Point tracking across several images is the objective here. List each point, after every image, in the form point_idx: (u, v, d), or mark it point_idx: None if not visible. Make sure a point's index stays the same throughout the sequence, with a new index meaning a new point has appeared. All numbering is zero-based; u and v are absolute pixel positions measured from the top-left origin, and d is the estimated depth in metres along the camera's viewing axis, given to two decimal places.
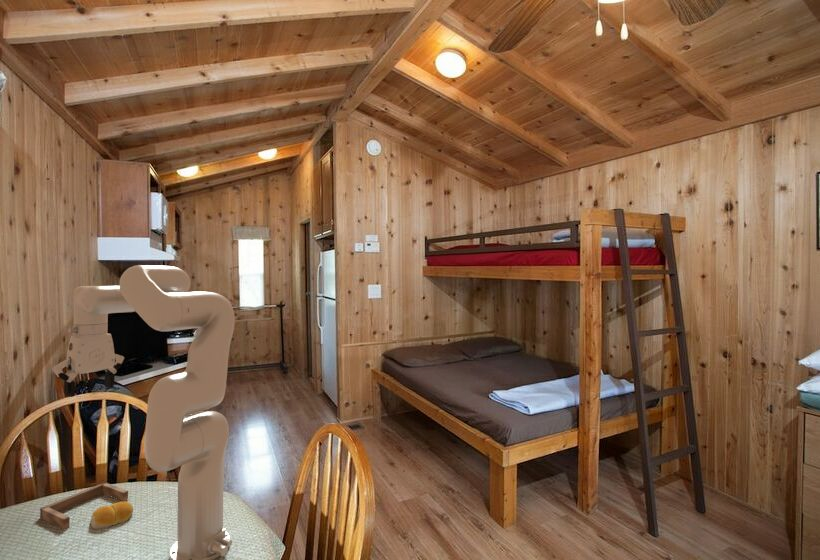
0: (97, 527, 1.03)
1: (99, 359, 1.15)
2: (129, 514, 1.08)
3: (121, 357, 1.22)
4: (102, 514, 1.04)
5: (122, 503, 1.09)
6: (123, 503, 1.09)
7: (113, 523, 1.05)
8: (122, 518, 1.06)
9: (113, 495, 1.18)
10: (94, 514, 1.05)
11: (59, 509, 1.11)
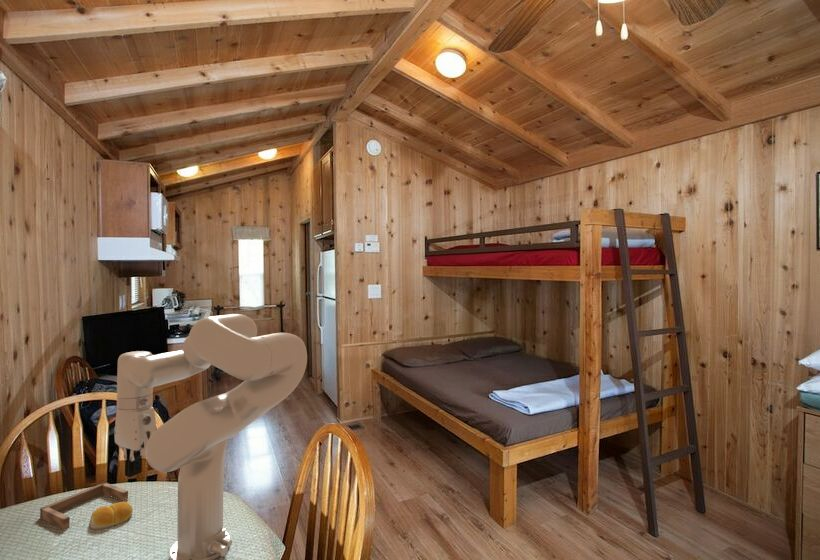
0: (96, 527, 1.03)
1: None
2: (128, 514, 1.08)
3: None
4: (102, 515, 1.04)
5: (121, 503, 1.09)
6: (122, 503, 1.09)
7: (112, 523, 1.05)
8: (121, 519, 1.06)
9: (113, 495, 1.18)
10: (93, 514, 1.05)
11: (59, 509, 1.11)
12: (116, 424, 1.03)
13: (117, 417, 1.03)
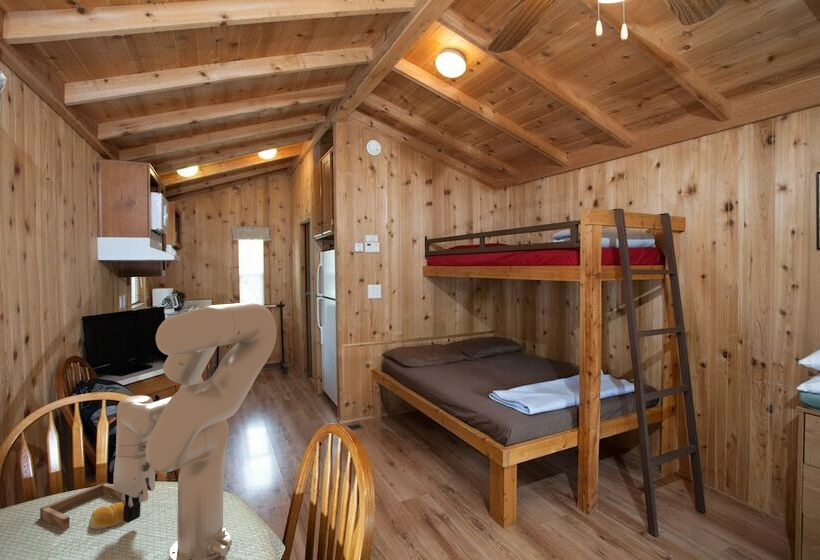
0: (96, 528, 1.03)
1: None
2: None
3: None
4: (101, 515, 1.04)
5: (121, 503, 1.09)
6: (122, 503, 1.09)
7: (112, 524, 1.05)
8: (121, 519, 1.06)
9: (113, 495, 1.18)
10: (93, 514, 1.05)
11: (59, 509, 1.11)
12: (115, 469, 1.03)
13: (116, 463, 1.03)
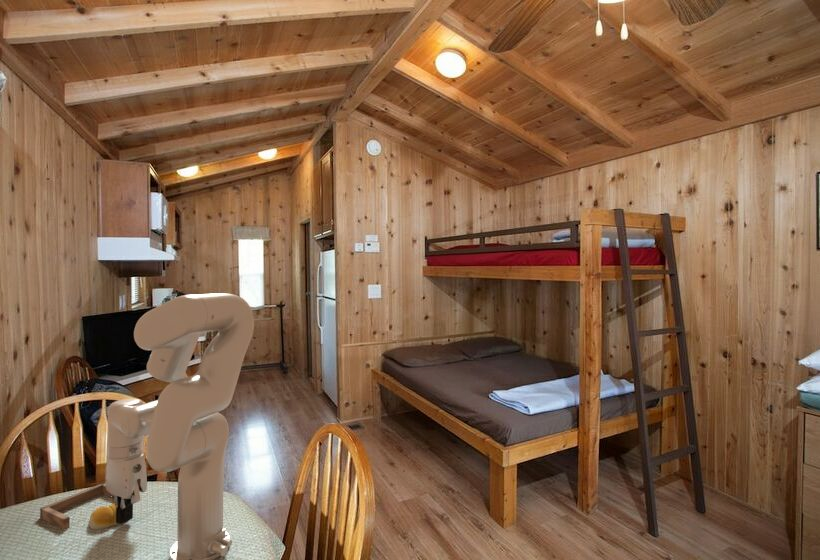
0: (95, 528, 1.03)
1: None
2: None
3: None
4: (101, 515, 1.04)
5: None
6: None
7: (111, 524, 1.05)
8: None
9: None
10: (92, 515, 1.05)
11: (59, 509, 1.11)
12: (107, 472, 1.05)
13: (108, 465, 1.04)
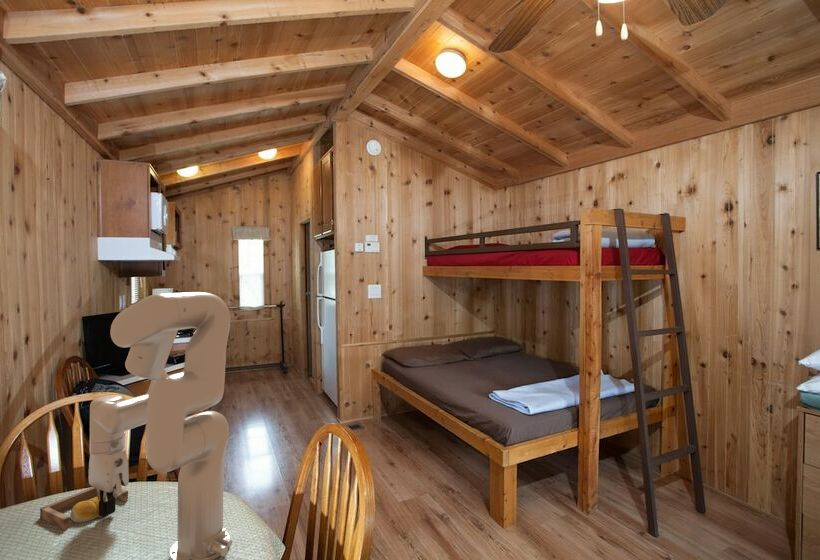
0: (79, 520, 1.06)
1: None
2: None
3: None
4: (84, 508, 1.07)
5: None
6: None
7: (95, 516, 1.08)
8: None
9: None
10: (75, 509, 1.07)
11: (59, 509, 1.11)
12: (90, 466, 1.08)
13: (91, 460, 1.07)
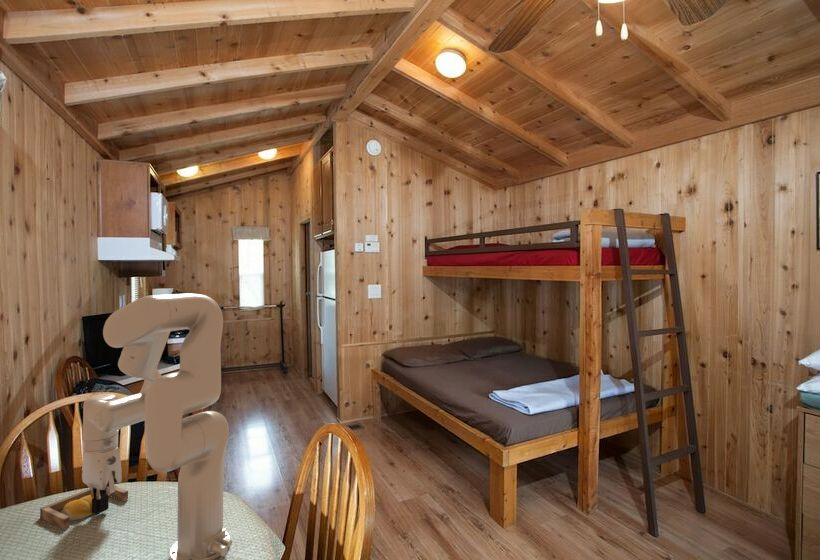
0: (73, 519, 1.07)
1: None
2: None
3: None
4: (77, 506, 1.08)
5: None
6: None
7: (89, 513, 1.09)
8: None
9: (113, 495, 1.18)
10: (67, 508, 1.08)
11: (59, 509, 1.11)
12: (83, 464, 1.09)
13: (84, 458, 1.09)
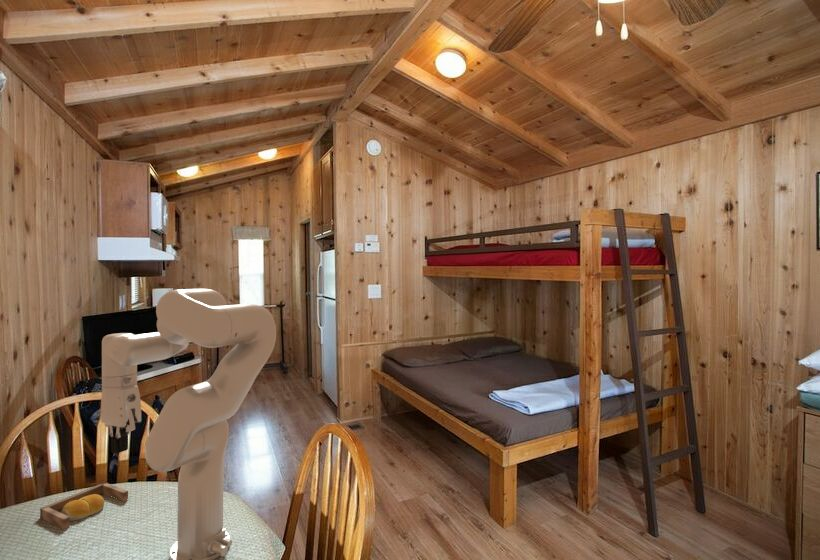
0: (72, 519, 1.07)
1: None
2: (103, 504, 1.12)
3: None
4: (77, 507, 1.08)
5: (93, 495, 1.13)
6: (94, 495, 1.13)
7: (89, 513, 1.09)
8: (97, 509, 1.10)
9: (113, 495, 1.18)
10: (66, 508, 1.08)
11: (59, 509, 1.11)
12: (102, 403, 1.07)
13: (103, 397, 1.07)
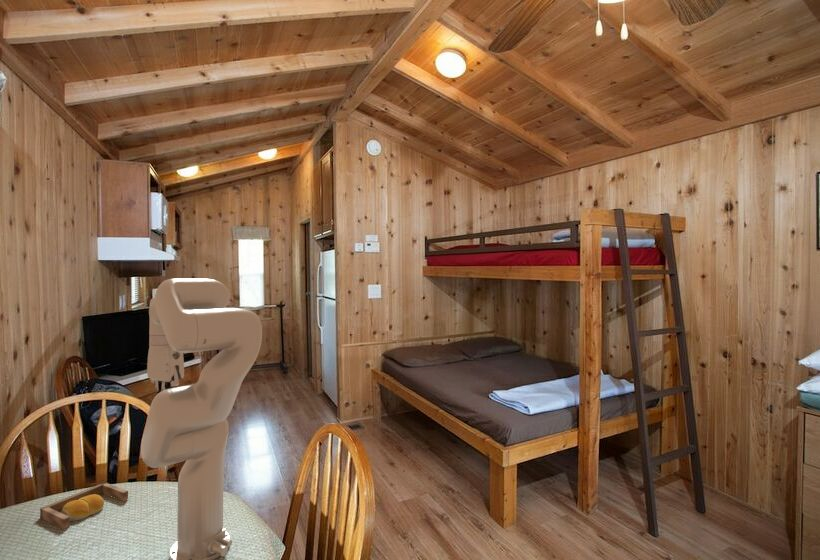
0: (72, 519, 1.06)
1: None
2: (102, 504, 1.12)
3: None
4: (77, 507, 1.08)
5: (93, 495, 1.13)
6: (94, 495, 1.13)
7: (88, 514, 1.09)
8: (96, 509, 1.10)
9: (113, 495, 1.18)
10: (66, 508, 1.08)
11: (59, 509, 1.11)
12: (148, 360, 1.17)
13: (150, 354, 1.16)
